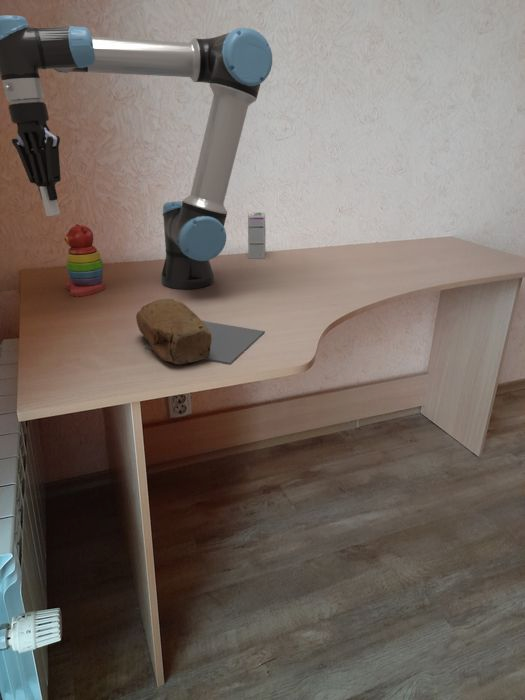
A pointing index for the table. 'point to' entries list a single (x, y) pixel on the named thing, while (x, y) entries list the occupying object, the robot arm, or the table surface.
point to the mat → (228, 341)
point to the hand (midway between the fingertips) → (53, 214)
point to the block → (174, 331)
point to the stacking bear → (83, 263)
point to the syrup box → (256, 235)
